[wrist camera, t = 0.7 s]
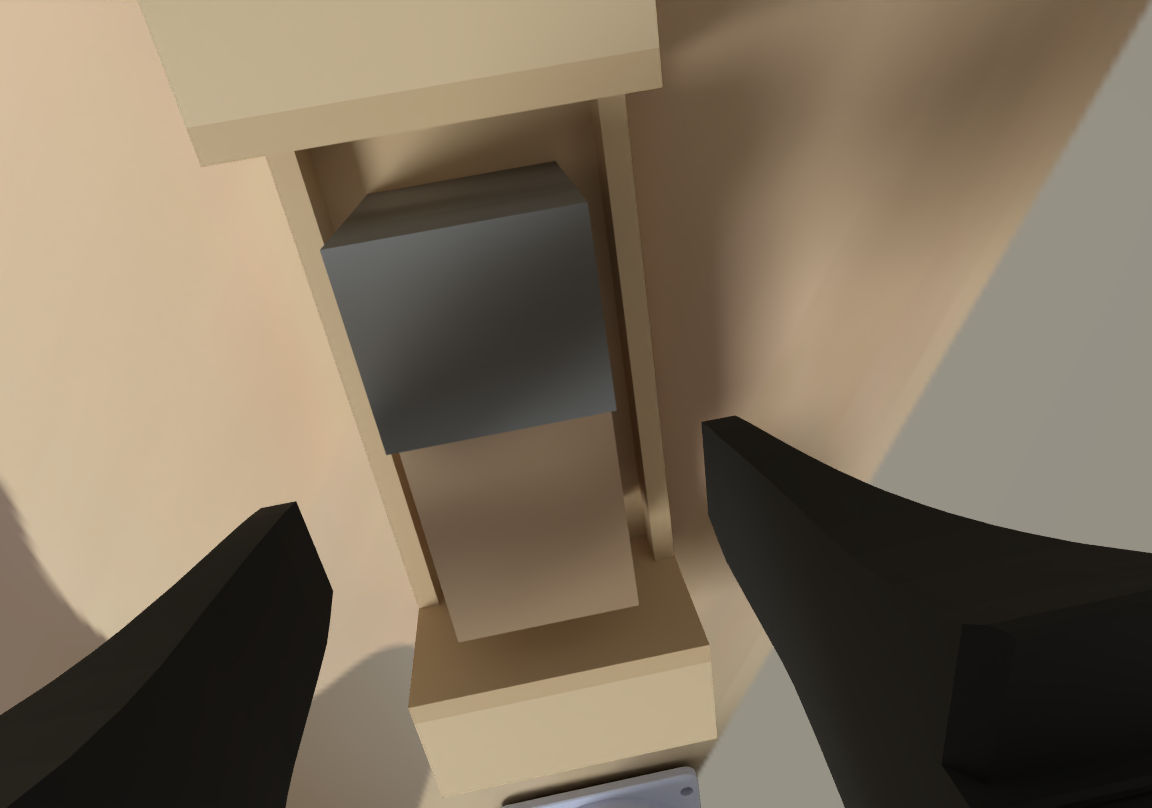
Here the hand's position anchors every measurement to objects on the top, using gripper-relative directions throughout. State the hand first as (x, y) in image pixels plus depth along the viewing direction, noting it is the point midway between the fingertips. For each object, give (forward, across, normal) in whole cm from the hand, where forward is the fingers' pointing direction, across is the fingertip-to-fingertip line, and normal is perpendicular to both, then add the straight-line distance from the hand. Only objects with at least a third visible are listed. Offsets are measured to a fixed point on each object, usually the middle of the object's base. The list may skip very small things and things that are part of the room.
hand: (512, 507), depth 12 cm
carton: (+7, 0, 0) cm, 7 cm away
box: (+7, 0, 0) cm, 7 cm away
